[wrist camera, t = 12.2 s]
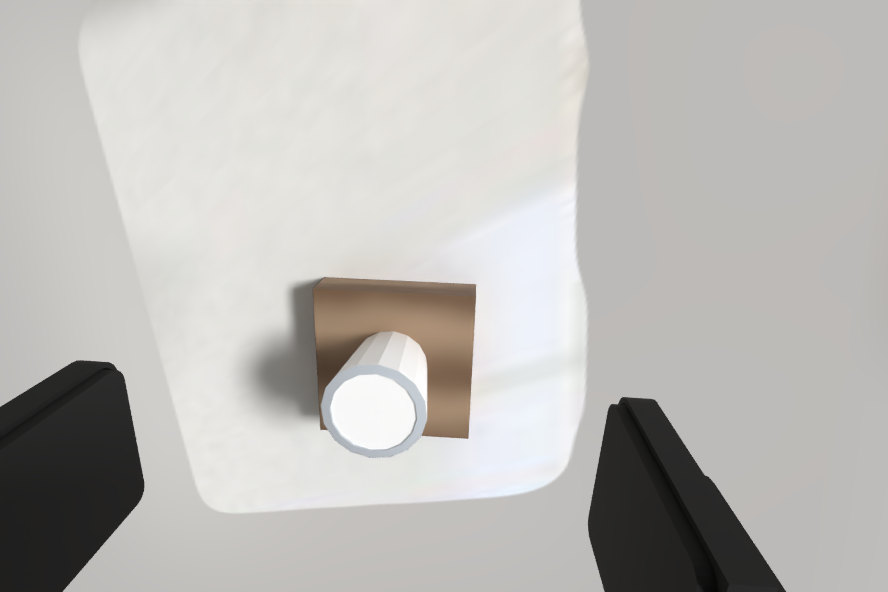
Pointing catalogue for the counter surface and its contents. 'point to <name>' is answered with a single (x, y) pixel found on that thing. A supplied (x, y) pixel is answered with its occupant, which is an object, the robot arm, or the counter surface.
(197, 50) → the counter surface
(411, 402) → the white and grey cylinder
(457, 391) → the walnut base
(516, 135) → the counter surface
